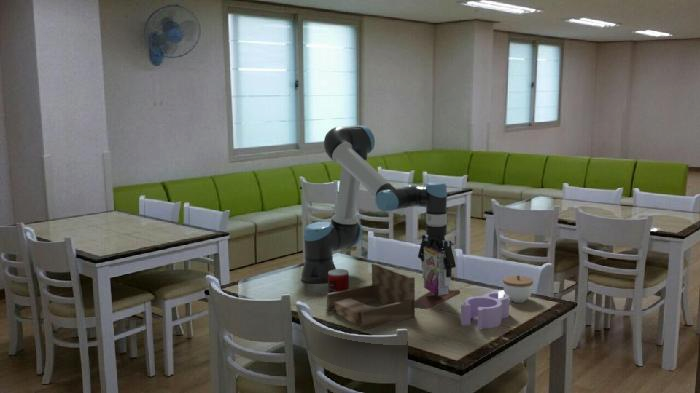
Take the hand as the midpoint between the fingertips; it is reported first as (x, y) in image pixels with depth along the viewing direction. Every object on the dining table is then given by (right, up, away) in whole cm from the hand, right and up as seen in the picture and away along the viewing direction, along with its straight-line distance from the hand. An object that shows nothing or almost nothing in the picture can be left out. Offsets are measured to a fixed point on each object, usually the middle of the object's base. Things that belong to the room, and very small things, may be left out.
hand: (436, 281), depth 239 cm
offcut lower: (-31, -11, -16) cm, 36 cm away
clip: (+14, -11, -21) cm, 27 cm away
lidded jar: (+30, -7, -1) cm, 31 cm away
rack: (-25, -9, -12) cm, 29 cm away
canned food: (-36, -8, +3) cm, 37 cm away
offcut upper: (-31, -9, -16) cm, 36 cm away
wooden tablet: (-1, -7, +3) cm, 8 cm away
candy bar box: (0, -4, +1) cm, 4 cm away
